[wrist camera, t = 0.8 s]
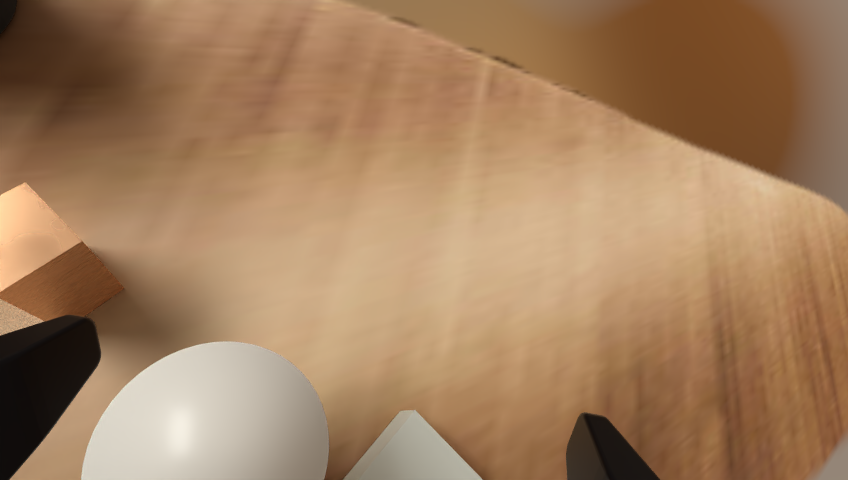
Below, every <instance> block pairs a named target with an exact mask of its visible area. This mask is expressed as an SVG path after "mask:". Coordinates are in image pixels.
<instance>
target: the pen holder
mask: <svg viewBox="0 0 848 480" xmlns="http://www.w3.org/2000/svg"><path fill="white" fill-rule="evenodd" d="M16 4H17V0H0V34H1V33H2V31H3V30H4V29H5V28H6V27H7V26H8V24H9V22H10V21H11V19H12V17H13V15H14V13H15V9H16Z"/></svg>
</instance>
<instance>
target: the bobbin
mask: <svg viewBox="0 0 848 480" xmlns="http://www.w3.org/2000/svg"><path fill="white" fill-rule="evenodd" d="M328 455H329V432H328V426H327V420H326V416H325V413H324V409H323V406H322V404H321V401H320V399H319V397H318V395H317V393H316V391H315V389H314V388H313V386H312V385H311V383H310V382H309V380H308V379H307V378H306V377H305V376H304V374H303V373H302V372H301V371H300V370H299V369H298V368H297V367H295V366H294V365H293V364H292V363H291V362H289V361H288V360H287V359H285V358H284V357H282V356H281V355H279V354H277V353H275V352H273V351H271V350H268V349H266V348H263V347H260V346H257V345H253V344H247V343H242V342H229V341H225V342H211V343H205V344H200V345H195V346H192V347H189V348H185V349H182V350H179V351H177V352H175V353H172V354H170V355H168V356H166V357H164V358H162V359H160V360H159V361H157V362H155V363H153V364H152V365H150V366H149V367H148V368H146V369H145V370H143V371H142V372H141V373H139V374H138V375H137V376H136V377H135V378H133V379H132V380H131V381H130V382H129V383H128V384H127V385H126V386H125V387H124V388H123V389H122V390H121V391H120V392H119V393H118V395H117V396H116V397H115V398H114V399H113V400H112V402H111V403H110V405H109V406H108V408H107V409H106V410H105V412H104V413H103V415H102V417H101V418H100V420H99V422H98V424H97V426H96V428H95V429H94V432H93V434H92V437H91V439H90V442H89V444H88V447H87V451H86V454H85V458H84V462H83V468H82V477H81V480H324V478H325V474H326V469H327V464H328Z"/></svg>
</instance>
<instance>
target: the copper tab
mask: <svg viewBox="0 0 848 480" xmlns="http://www.w3.org/2000/svg"><path fill="white" fill-rule="evenodd" d="M123 289H124V288H123V286H122V285H121V284H120V283H119V282H118V281H117V280H116V279H115V277H114V276H113V275H112V274H111V273H110V272H109V271H108V270H107V268H106V267H105V266H104V265H103V264H102V263H101V262H100V260H99V259H98V258H97V257H96V256H95V255H94V254H93V253H92V251H91V250H90V249H89V248H88V247H87V246H86V245H85V244H84V242H83V241H82V240H81V239H80V238H79V237H78V236H77V235H76V234H75V233H74V232H73V231H72V230H71V229H70V228H69V227H68V226H67V225H66V224H65V223H64V222H63V221H62V220H61V219H60V218H59V217H58V215H57V214H56V213H55V212H54V211H53V210H52V209H51V208H50V207H49V206H48V205H47V204H46V203H45V202H44V201H43V200H42V199H41V198H40V197H39V196H38V195H37V194H36V193H35V192H34V191H33V190H32V189H31V188H30V187H29V186H28V185H27V184H26V182H25V183H23V184H21V185H19V186H17V187H15V188H13V189H11V190H10V191H8V192H6V193H4V194H2V195H0V299H2V300H4V301H6V302H8V303H10V304H12V305H14V306H16V307H18V308H20V309H22V310H24V311H26V312H28V313H30V314H32V315H34V316H36V317H38V318H40V319H41V320H43V321H48V320H51V319H54V318H58V317H61V316H64V315H77V316H83V317H84V316H86V315H87V314H89V313H90V312H91V311H93V310H94V309H96V308H97V307H99V306H100V305H101V304H103V303H104V302H106V301H107V300H109V299H110V298H111V297H113V296H114V295H116V294H117V293H118V292H120V291H121V290H123Z"/></svg>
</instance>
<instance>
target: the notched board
mask: <svg viewBox="0 0 848 480" xmlns="http://www.w3.org/2000/svg"><path fill="white" fill-rule="evenodd" d="M343 480H483V479H482V478H481V477H480V476H479V475H478V474H477V473H476V472H475V471H474V470H473V469H472V468H471V467H470V466H469V465H468V464H467V463H466V462H465V461H464V460H463V459H462V458H461V457H460V456H459V455H458V454H457V453H456V452H455V451H454V450H453V449H452V448H451V447H450V445H449V444H448V443H447V442H446V441H445V440H444V439H443V438H442V437H441V436H440V435H439V434H438V433H437V432H436V431H435V430H434V429H433V428H432V427H431V426H430V425H429V424H428V423H427V422H426V421H425V420H424V419H423V418H422V417H421V416H420V415H419V414H418V413H417V412H416V410H406V411H400V412H399V413H398V414H397V415H396V417H395V418H394V419H393V420H392V421H391V423H390V424H389V425H388V426H387V427H386V429H385V430H384V431H383V432H382V433H381V435H380V436H379V437H378V438H377V439H376V441H375V442H374V443H373V444H372V445H371V447H370V448H369V449H368V450H367V451H366V453H365V454H364V455H363V456H362V457H361V459H360V460H359V461H358V462H357V463H356V465H355V466H354V467H353V468H352V469H351V471H350V472H349V473H348V474H347V475H346V477H345V478H344V479H343Z"/></svg>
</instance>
